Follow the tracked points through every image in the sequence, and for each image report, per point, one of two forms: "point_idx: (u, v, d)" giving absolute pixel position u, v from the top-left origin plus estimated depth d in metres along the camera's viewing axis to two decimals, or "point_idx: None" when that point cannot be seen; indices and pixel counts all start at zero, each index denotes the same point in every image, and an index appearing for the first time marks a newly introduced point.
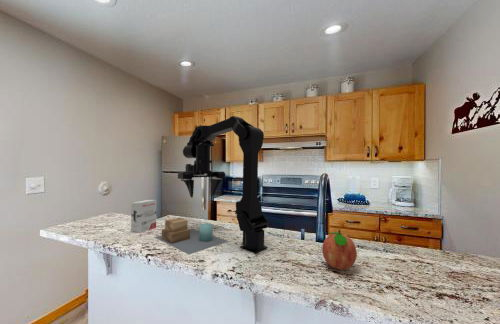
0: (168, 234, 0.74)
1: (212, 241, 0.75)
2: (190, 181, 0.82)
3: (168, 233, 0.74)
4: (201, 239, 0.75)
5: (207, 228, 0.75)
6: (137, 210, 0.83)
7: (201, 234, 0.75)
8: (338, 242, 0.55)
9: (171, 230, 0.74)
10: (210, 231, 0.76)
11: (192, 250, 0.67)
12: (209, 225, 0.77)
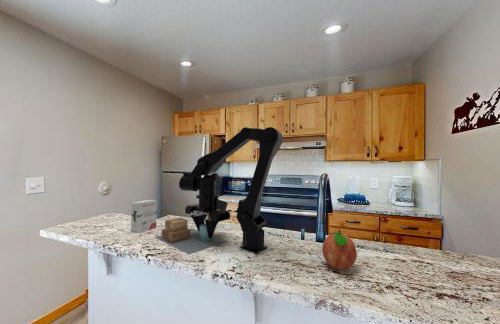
0: (168, 234, 0.74)
1: (212, 241, 0.75)
2: (192, 217, 0.78)
3: (168, 233, 0.74)
4: (201, 239, 0.75)
5: None
6: (137, 210, 0.83)
7: (201, 234, 0.75)
8: (338, 242, 0.55)
9: (171, 230, 0.74)
10: None
11: (192, 250, 0.67)
12: None
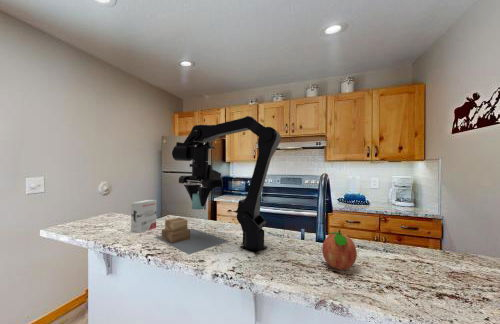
0: (168, 234, 0.74)
1: (212, 241, 0.75)
2: (185, 186, 0.78)
3: (168, 233, 0.74)
4: (194, 207, 0.76)
5: None
6: (137, 210, 0.83)
7: (194, 202, 0.76)
8: (338, 242, 0.55)
9: (171, 230, 0.74)
10: None
11: (192, 250, 0.67)
12: None
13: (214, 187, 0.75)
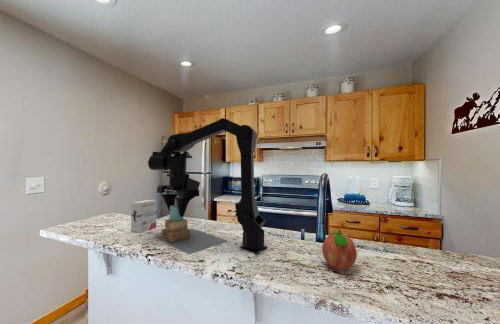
0: (168, 234, 0.74)
1: (212, 241, 0.75)
2: (162, 195, 0.79)
3: (168, 233, 0.74)
4: (171, 219, 0.75)
5: (177, 208, 0.75)
6: (137, 210, 0.83)
7: (171, 214, 0.75)
8: (338, 242, 0.55)
9: (171, 230, 0.74)
10: None
11: (192, 250, 0.67)
12: None
13: (193, 197, 0.75)
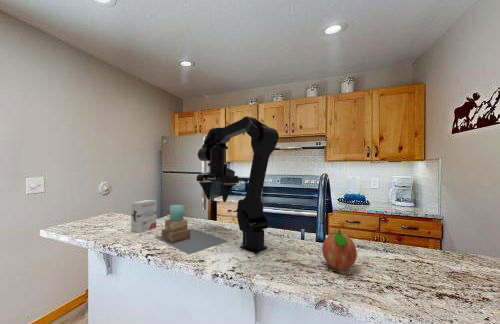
0: (168, 234, 0.74)
1: (212, 241, 0.75)
2: (200, 183, 0.88)
3: (168, 233, 0.74)
4: (171, 219, 0.75)
5: (177, 208, 0.75)
6: (137, 210, 0.83)
7: (171, 214, 0.75)
8: (338, 242, 0.55)
9: (171, 230, 0.74)
10: (180, 211, 0.76)
11: (192, 250, 0.67)
12: (180, 206, 0.77)
13: (235, 184, 0.83)
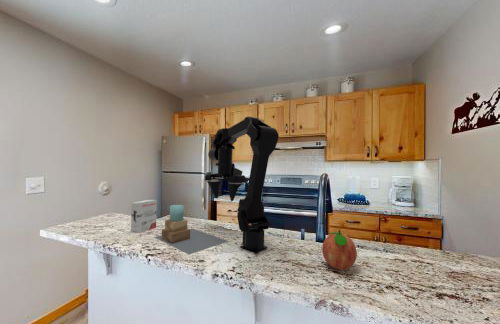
0: (168, 234, 0.74)
1: (212, 241, 0.75)
2: (208, 182, 0.90)
3: (168, 233, 0.74)
4: (171, 219, 0.75)
5: (177, 208, 0.75)
6: (137, 210, 0.83)
7: (171, 214, 0.75)
8: (338, 242, 0.55)
9: (171, 230, 0.74)
10: (180, 211, 0.76)
11: (192, 250, 0.67)
12: (180, 206, 0.77)
13: (242, 183, 0.84)
